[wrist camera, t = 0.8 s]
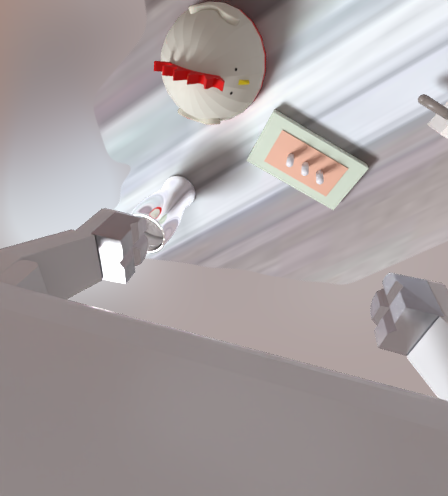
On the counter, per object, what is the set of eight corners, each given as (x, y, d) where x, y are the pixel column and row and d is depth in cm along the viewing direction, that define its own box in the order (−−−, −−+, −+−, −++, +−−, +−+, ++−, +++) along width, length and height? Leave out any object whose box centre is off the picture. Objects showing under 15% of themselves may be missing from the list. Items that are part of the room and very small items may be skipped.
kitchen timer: (251, 129, 46) (230, 161, 34) (166, 105, 47) (118, 128, 35) (279, 17, 38) (265, 8, 26) (176, -10, 39) (116, -30, 27)
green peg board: (274, 109, 44) (270, 117, 39) (366, 163, 45) (372, 177, 41) (248, 156, 48) (242, 168, 44) (332, 204, 50) (334, 220, 45)
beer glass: (165, 166, 53) (123, 205, 41) (202, 182, 53) (171, 224, 41) (158, 199, 57) (118, 243, 45) (192, 213, 57) (161, 260, 45)
